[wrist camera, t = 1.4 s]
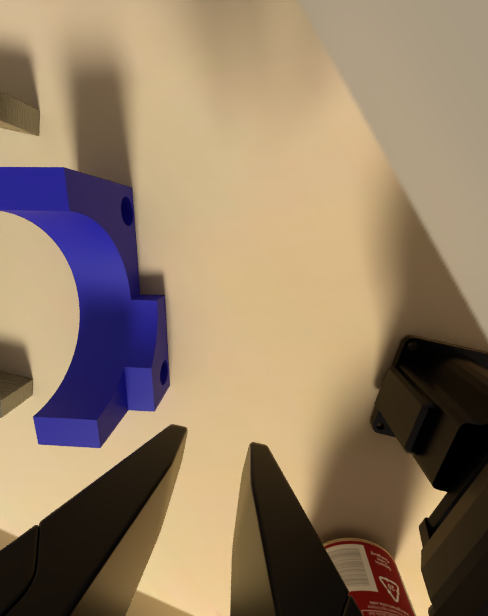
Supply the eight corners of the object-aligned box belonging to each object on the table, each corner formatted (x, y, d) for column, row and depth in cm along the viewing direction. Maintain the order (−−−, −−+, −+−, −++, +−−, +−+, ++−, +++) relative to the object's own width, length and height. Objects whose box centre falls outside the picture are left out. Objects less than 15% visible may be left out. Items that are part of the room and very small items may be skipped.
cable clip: (170, 384, 20) (131, 449, 14) (103, 381, 20) (38, 444, 14) (159, 188, 16) (104, 167, 11) (80, 187, 17) (-16, 167, 11)
